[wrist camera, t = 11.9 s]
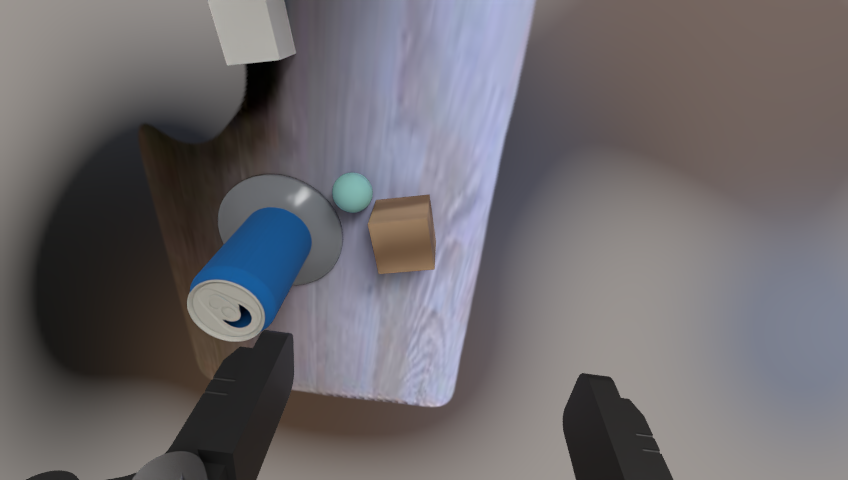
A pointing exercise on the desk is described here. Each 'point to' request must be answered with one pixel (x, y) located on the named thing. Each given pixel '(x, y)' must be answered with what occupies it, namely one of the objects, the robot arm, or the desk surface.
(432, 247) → the walnut cube
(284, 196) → the coaster
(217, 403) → the robot arm
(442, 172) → the desk surface
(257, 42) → the white block
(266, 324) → the beverage can
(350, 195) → the teal ball
